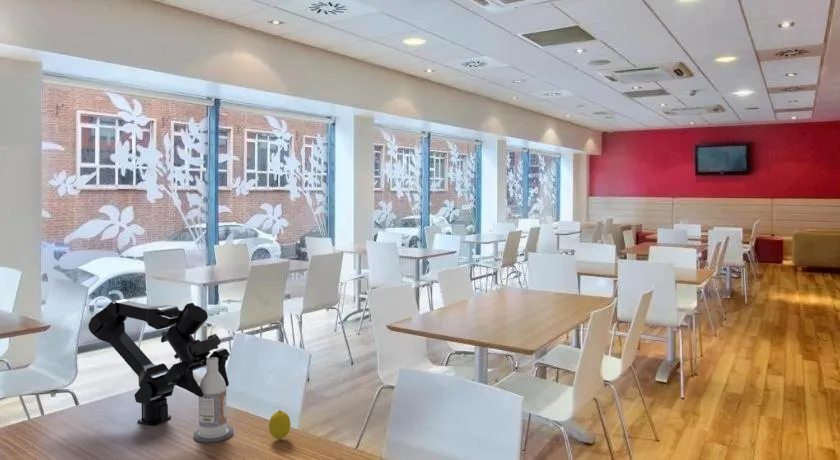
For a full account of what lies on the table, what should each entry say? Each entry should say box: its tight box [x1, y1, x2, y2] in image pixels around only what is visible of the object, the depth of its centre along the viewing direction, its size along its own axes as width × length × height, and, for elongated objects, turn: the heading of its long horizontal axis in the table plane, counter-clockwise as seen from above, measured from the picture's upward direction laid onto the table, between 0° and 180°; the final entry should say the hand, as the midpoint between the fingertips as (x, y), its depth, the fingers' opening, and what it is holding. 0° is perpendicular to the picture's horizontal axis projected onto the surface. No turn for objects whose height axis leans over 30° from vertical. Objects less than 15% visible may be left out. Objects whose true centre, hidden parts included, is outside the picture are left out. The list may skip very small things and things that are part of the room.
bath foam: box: [198, 356, 228, 436], centre depth 160 cm, size 7×7×20 cm
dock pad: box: [193, 425, 234, 444], centre depth 161 cm, size 10×10×1 cm
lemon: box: [268, 409, 291, 441], centre depth 159 cm, size 6×6×8 cm
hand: (215, 390), depth 160 cm, fingers open, 9 cm apart
